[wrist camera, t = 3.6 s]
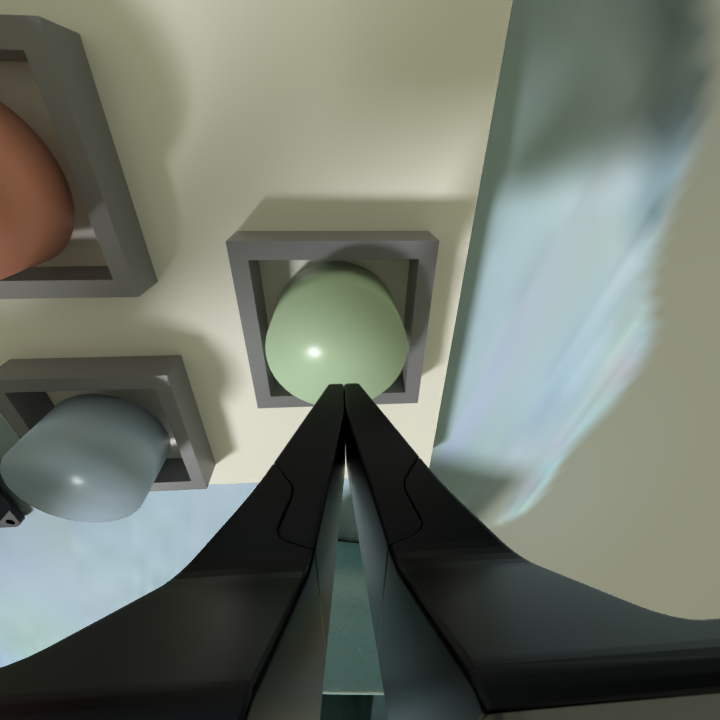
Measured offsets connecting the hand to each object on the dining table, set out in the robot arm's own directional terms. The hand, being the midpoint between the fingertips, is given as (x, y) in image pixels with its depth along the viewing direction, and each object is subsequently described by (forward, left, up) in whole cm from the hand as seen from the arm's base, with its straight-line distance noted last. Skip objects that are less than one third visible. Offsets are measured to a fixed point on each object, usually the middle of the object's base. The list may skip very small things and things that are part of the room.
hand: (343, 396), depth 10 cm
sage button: (0, 0, -5) cm, 5 cm away
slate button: (-10, -5, -4) cm, 12 cm away
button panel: (-5, 0, -7) cm, 8 cm away
